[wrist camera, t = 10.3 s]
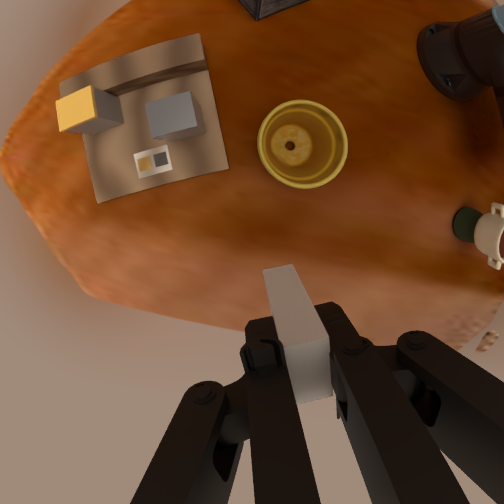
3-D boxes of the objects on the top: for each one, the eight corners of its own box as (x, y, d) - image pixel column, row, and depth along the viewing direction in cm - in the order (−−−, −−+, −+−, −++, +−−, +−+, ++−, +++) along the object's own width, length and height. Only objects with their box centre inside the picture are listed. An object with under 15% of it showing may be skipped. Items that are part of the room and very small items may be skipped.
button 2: (119, 98, 36) (90, 85, 27) (124, 123, 37) (95, 116, 28) (89, 109, 36) (55, 101, 27) (93, 134, 37) (59, 131, 28)
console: (203, 46, 36) (198, 29, 30) (229, 168, 42) (228, 170, 35) (79, 87, 36) (58, 80, 30) (101, 201, 42) (82, 209, 36)
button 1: (200, 105, 37) (190, 90, 28) (206, 133, 38) (197, 126, 29) (164, 114, 37) (144, 103, 28) (170, 142, 38) (151, 138, 29)
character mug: (473, 247, 48) (517, 270, 35) (448, 253, 48) (493, 279, 35) (475, 192, 45) (524, 205, 32) (449, 195, 44) (499, 209, 32)
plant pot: (264, 190, 43) (272, 199, 34) (244, 120, 40) (247, 110, 30) (332, 172, 43) (357, 177, 33) (314, 104, 39) (335, 91, 30)
